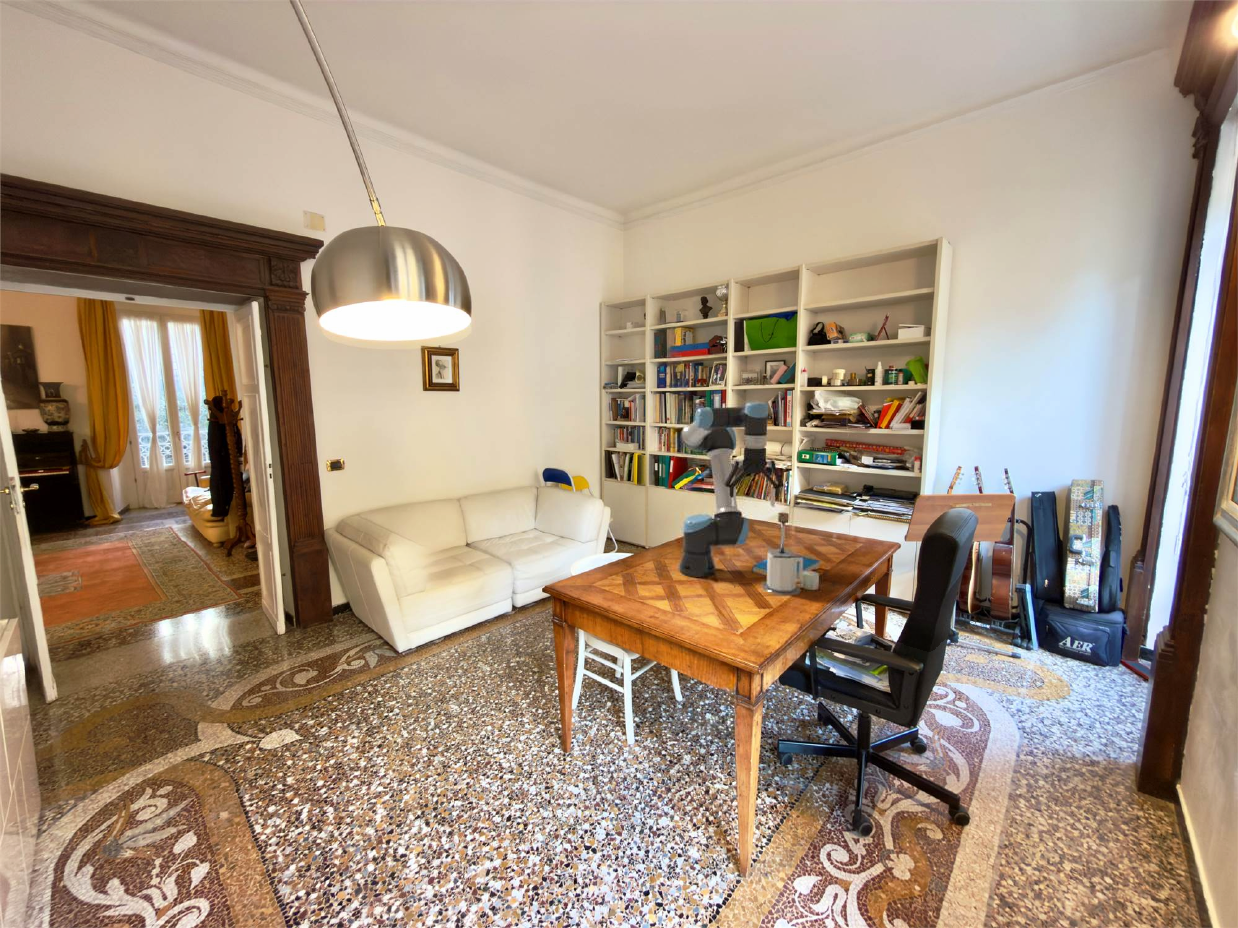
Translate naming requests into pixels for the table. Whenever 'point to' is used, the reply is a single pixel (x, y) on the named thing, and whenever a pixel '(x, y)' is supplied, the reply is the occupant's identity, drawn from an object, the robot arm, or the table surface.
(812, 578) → the espresso cup
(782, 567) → the cafetiere
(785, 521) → the plunger
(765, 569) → the book
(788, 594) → the disc
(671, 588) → the table surface
